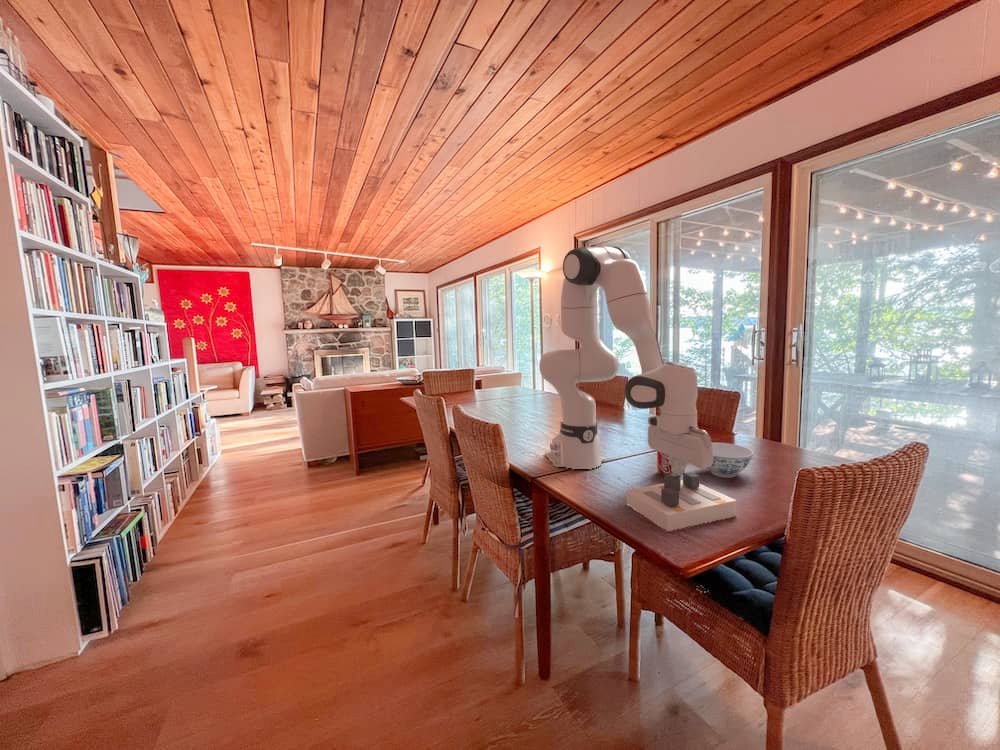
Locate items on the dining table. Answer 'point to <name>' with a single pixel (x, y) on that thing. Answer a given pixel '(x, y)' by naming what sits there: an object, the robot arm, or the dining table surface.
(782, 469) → the dining table surface
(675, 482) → the switch tab
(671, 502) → the switch tab
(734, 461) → the chinaware
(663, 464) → the soda can
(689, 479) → the switch tab
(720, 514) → the switch panel
